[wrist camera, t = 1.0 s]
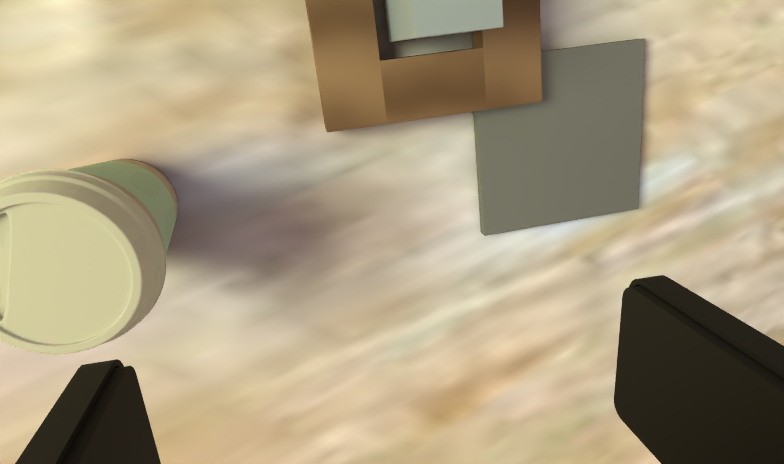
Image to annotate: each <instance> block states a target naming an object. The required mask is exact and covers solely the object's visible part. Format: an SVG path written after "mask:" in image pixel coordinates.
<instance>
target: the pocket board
mask: <svg viewBox="0 0 784 464" xmlns="http://www.w3.org/2000/svg"><path fill="white" fill-rule="evenodd" d="M305 1H306V7H307V14H308V20H309V26H310V33H311V39H312V46H313V52H314V58H315V65H316V71H317V77H318V84H319V90H320V96H321V103H322V109H323V115H324V122H325V128H326V130H327V132H333V131H340V130H347V129H354V128H361V127H368V126H375V125H382V124H389V123H396V122H403V121H410V120H417V119H424V118H431V117H438V116H445V115H452V114H459V113H466V112H473V111H480V110H487V109H494V108H501V107H508V106H514V105H521V104H528V103H535V102H542V83H541V36H540V0H502V7H503V27H500V28H493V29H486V30H479V31H473V32H472V42H473V48H471V49H464V50H456V51H448V52H440V53H432V54H424V55H416V56H408V57H401V58H393V59H385V60H380V58H379V50H378V41H377V33H376V25H375V16H374V8H373V0H305Z"/></svg>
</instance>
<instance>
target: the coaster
mask: <svg viewBox="0 0 784 464" xmlns="http://www.w3.org/2000/svg"><path fill="white" fill-rule="evenodd" d="M644 53H645V39H634V40H626V41H619V42H611V43H603V44H595V45H588V46H580V47H572V48H565V49H557V50H549V51H542V52H541V83H542V102H535V103H528V104H521V105H514V106H508V107H501V108H494V109H487V110H480V111H473V116H474V132H475V147H476V163H477V178H478V194H479V210H480V225H481V233H482V234H483V235H484V236H486V235H492V234H498V233H503V232H509V231H515V230H520V229H526V228H532V227H537V226H543V225H549V224H554V223H560V222H566V221H571V220H577V219H583V218H588V217H594V216H600V215H605V214H611V213H617V212H623V211H628V210H634V209H638V201H639V176H640V152H641V127H642V103H643V78H644Z"/></svg>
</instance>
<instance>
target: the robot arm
mask: <svg viewBox="0 0 784 464" xmlns="http://www.w3.org/2000/svg"><path fill="white" fill-rule="evenodd" d="M614 404H615V408H616V411H617V413H618V415H619V417H620V418H621V420H622V421H623V422H624V423H625V424H626V425H627V426H628V427H629V428H630V430H631V431H632V432H633V433H634V434H635V435H636V436H637V437H638V438H639V439H640V441H641V442H642V443H643V444H644V445H645V446H646V447H647V448H648V449H649V450H650V452H651V453H652V454H653V455H654V456H655V457H656V458H657V459H658V460H659V462H660V463H661V464H784V346H783V345H781V344H779V343H778V342H776V341H774V340H773V339H771V338H769V337H768V336H766V335H764V334H763V333H761V332H759V331H757V330H756V329H754V328H752V327H751V326H749V325H747V324H746V323H744V322H742V321H741V320H739V319H737V318H736V317H734V316H732V315H730V314H729V313H727V312H725V311H724V310H722V309H720V308H719V307H717V306H715V305H714V304H712V303H710V302H709V301H707V300H705V299H703V298H702V297H700V296H698V295H697V294H695V293H693V292H692V291H690V290H688V289H687V288H685V287H683V286H682V285H680V284H678V283H676V282H675V281H673V280H671V279H670V278H668V277H666V276H663V275H661V276H654V277H647V278H641V279H635V280H633V281H632V282H631V284H630V286H629V288H626V289H625V291H624V292H623V297H622V309H621V321H620V333H619V345H618V357H617V369H616V381H615V393H614ZM15 464H161V463H160V459H159V455H158V452H157V448H156V444H155V441H154V437H153V433H152V430H151V426H150V423H149V419H148V415H147V412H146V408H145V404H144V401H143V397H142V394H141V390H140V386H139V383H138V379H137V375H136V372H135V370H134V368H133V367H132V366H126V367H124V366H123V364H122V363H121V361H119V360H111V361H105V362H98V363H92V364H85V365H81V367H80V368H79V369H78V370H77V372H76V373H75V375H74V376H73V378H72V379H71V381H70V382H69V384H68V385H67V387H66V388H65V390H64V391H63V393H62V394H61V396H60V397H59V399H58V400H57V402H56V403H55V405H54V406H53V408H52V409H51V411H50V412H49V414H48V415H47V417H46V418H45V420H44V421H43V423H42V424H41V426H40V427H39V429H38V430H37V432H36V433H35V435H34V436H33V438H32V439H31V441H30V442H29V444H28V445H27V447H26V448H25V450H24V451H23V453H22V454H21V456H20V457H19V459H18V460H17V462H16V463H15Z"/></svg>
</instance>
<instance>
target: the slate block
mask: <svg viewBox="0 0 784 464" xmlns="http://www.w3.org/2000/svg"><path fill="white" fill-rule="evenodd" d="M384 8H385V17H386V26H387V35H388V42H395V41H403V40H411V39H419V38H427V37H435V36H443V35H452V34H459V33H466V32H473V31H479V30H486V29H493V28H500V27H503V7H502V0H384Z"/></svg>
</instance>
